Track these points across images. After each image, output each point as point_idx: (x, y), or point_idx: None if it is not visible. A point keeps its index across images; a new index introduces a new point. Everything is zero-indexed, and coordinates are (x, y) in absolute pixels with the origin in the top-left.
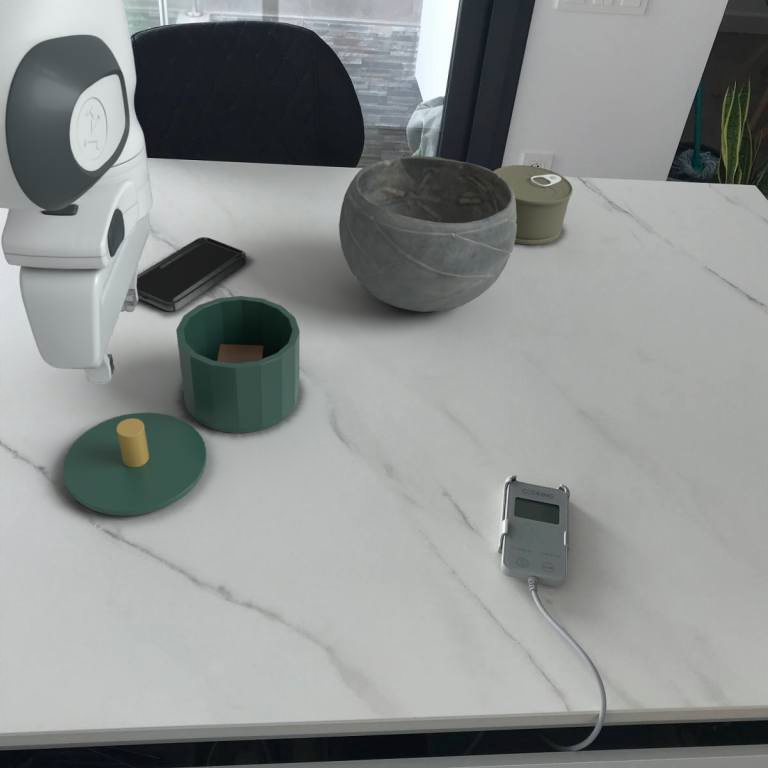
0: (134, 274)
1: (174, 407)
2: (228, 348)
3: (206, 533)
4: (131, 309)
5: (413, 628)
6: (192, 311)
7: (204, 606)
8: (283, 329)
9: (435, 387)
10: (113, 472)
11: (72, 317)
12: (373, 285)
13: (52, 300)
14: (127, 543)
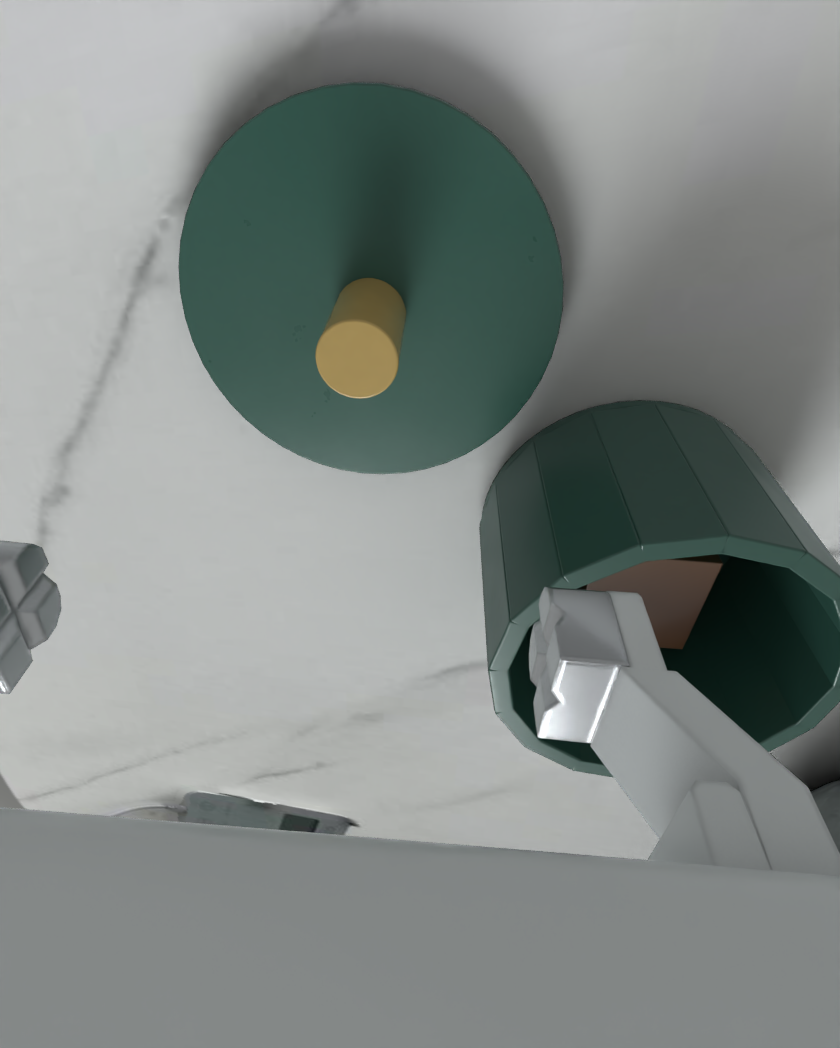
0: (650, 819)
1: (602, 376)
2: (694, 581)
3: (186, 463)
4: (532, 649)
5: (71, 706)
6: (821, 575)
7: (15, 464)
8: None
9: (566, 788)
10: (314, 258)
11: None
12: (836, 835)
13: None
14: (126, 305)
